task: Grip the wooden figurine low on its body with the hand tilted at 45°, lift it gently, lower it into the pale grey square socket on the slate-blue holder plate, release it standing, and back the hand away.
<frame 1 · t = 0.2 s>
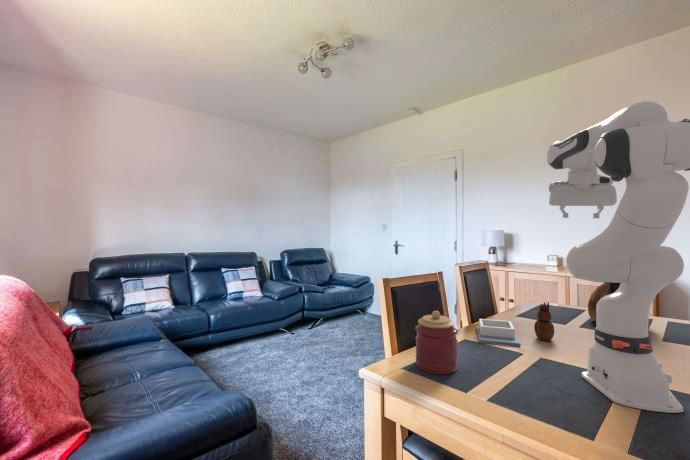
hand: (580, 218, 120), 47 cm above the table, tool pointing down, fingers open, 8 cm apart
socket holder: (496, 336, 129), on the table
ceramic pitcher: (615, 325, 142), on the table
canister: (436, 366, 103), on the table
wooden figurine: (544, 340, 125), on the table
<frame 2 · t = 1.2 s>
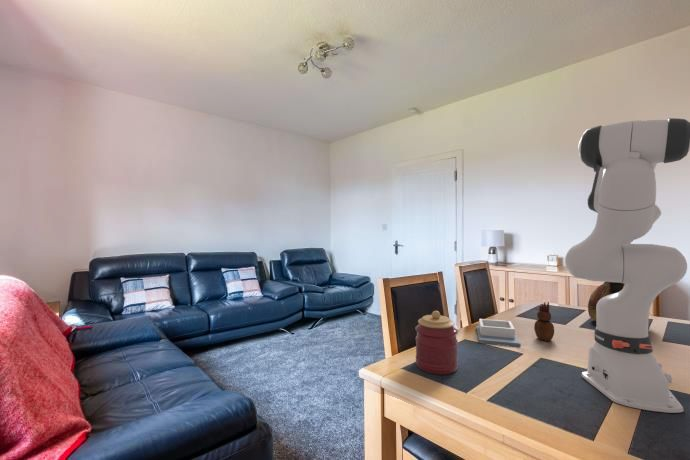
hand: (581, 265, 121), 29 cm above the table, tool tilted 45°, fingers open, 8 cm apart
nothing on the table moved.
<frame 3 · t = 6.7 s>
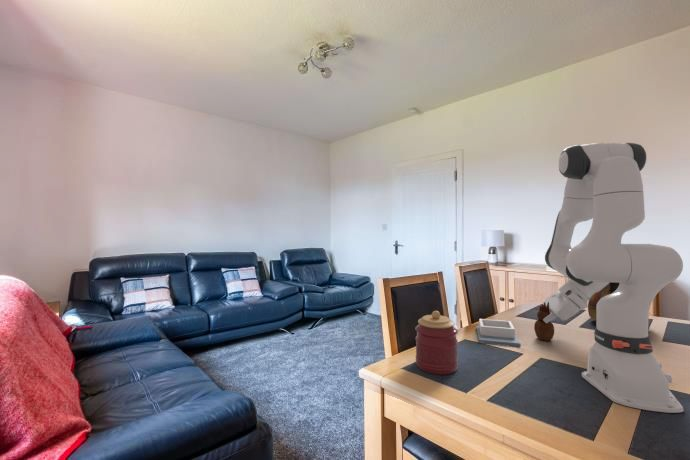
hand: (542, 319, 125), 8 cm above the table, tool tilted 45°, fingers closed on wooden figurine, 5 cm apart
wooden figurine: (544, 340, 125), on the table, touching gripper
everything else where it was.
when the fingers open (11 cm above the table, at t = 16.0 s): wooden figurine drops 1 cm, resting on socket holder.
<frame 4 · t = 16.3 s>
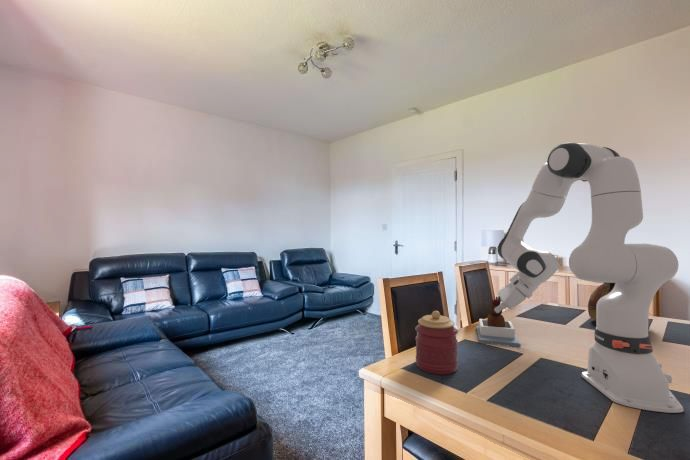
hand: (494, 308, 131), 11 cm above the table, tool tilted 45°, fingers open, 8 cm apart
wooden figurine: (496, 332, 131), point 1 cm above the table, touching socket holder
everything else where it was.
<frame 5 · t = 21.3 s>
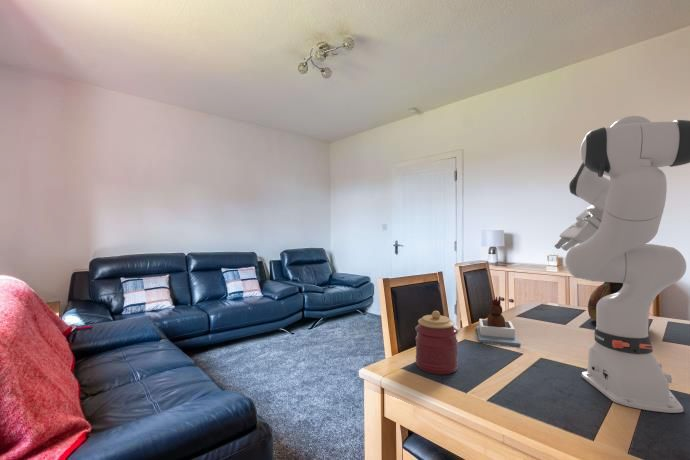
hand: (559, 248, 123), 35 cm above the table, tool tilted 45°, fingers open, 8 cm apart
nothing on the table moved.
at the end: wooden figurine 0.1 cm from the target spot on the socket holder, point 1.0 cm above the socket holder's base; wooden figurine tilted 0°; the gripper is holding nothing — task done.
